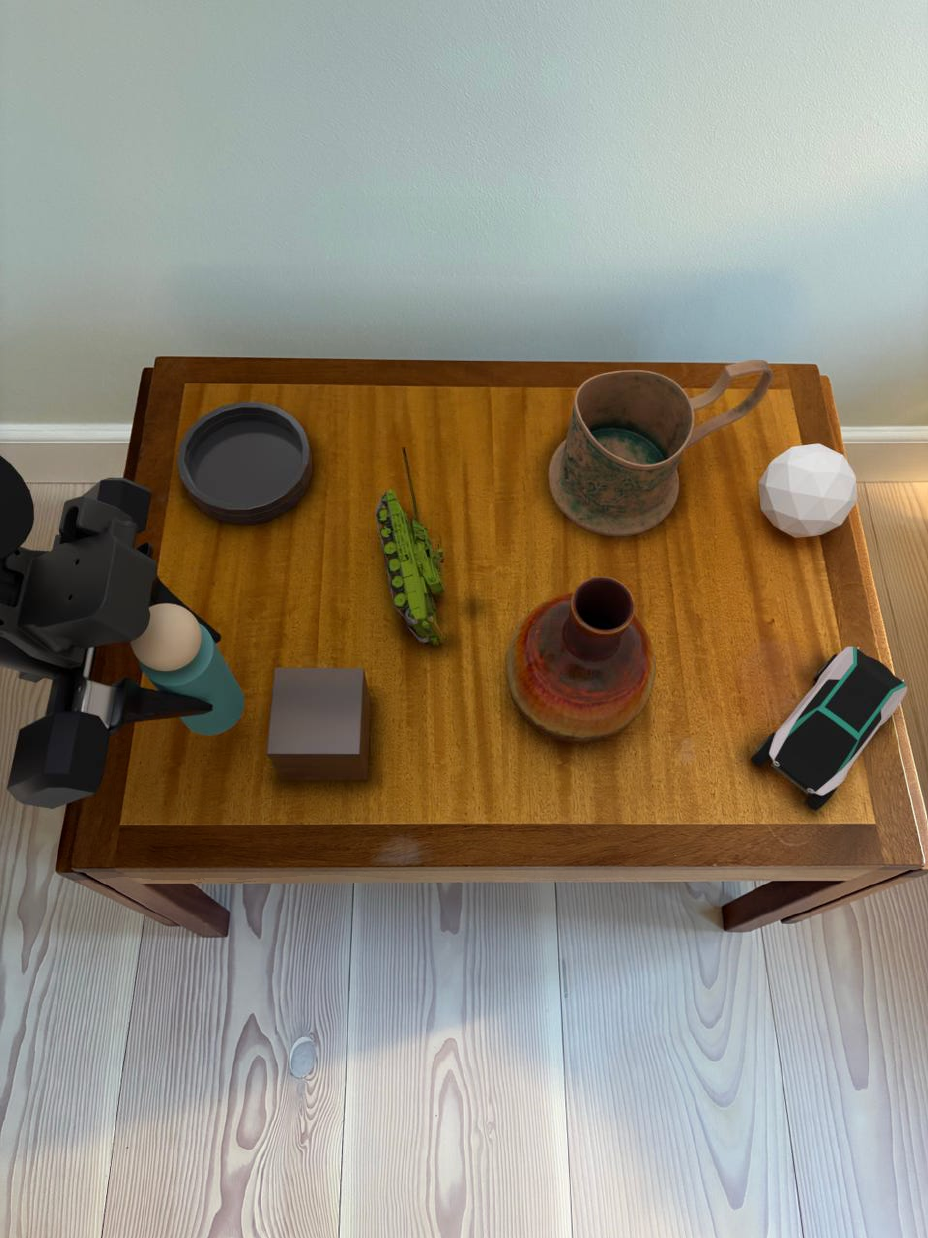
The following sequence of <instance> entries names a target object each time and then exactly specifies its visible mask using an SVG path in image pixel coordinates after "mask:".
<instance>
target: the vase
mask: <svg viewBox="0 0 928 1238" xmlns="http://www.w3.org/2000/svg"><path fill="white" fill-rule="evenodd" d="M635 602H636V601H635V599H634V596H633V593H632V591H631V590H630V589H629V587H627V586H626V585H625V584H624V583H623V582H621V581H619V580H618V579H615V578H613V577H610V576H605V575H604V576H603V575H601V576H600V575H598V576H597V575H596V576H591V577H588V578H586V579H585V580H583V581H582V582H581V583H579V584H578V585H577V586H576V588H575V589H574V590H573V592H567V593H562V594H558V595H556V596H553V597H549V598H548V599H546V600H545V601H542V602H540V603H539V604H538V605H536V606H535V607H534V608H533V609H531V610H529V612H528V613H527V614H526V615H525V616H524V617H523V618H522V619H521V621H520V622H519V624H518V625H517V627H516V628H515V629H514V631H513V634H512V636H511V638H510V641H509V644H508V648H507V651H506V657H505V679H506V684H507V688H508V693H509V694H510V697H511V699H512V702H513V704H514V705H515V708H517V710H518V712H519V714H520V715H521V716H522V717H523V719H525V720H526V721H527V723H528V724H530V725H531V726H532V727H533V728H534V729H536V730H537V731H538V732H540V733H542V734H543V735H545V736H547V737H549V738H551V739H554V740H557V741H560V742H564V743H569V744H570V743H572V744H590V743H594V742H599V741H603V740H605V739H608V738H610V737H613V736H614V735H616V734H617V733H620V732H621V731H623V730H625V728H626V727H628V726H629V725H630V724H632V722H634V721H635V720H636V718H637V717H638V716H639V715H640V713H642V711H643V709H644V708H645V706H646V704H647V703H648V701H649V699H650V697H651V695H652V691H653V688H654V684H655V680H656V667H657V666H656V655H655V649H654V646H653V643H652V640H651V637H650V636H649V633H648V631H647V629H646V628H645V626H644V624H643V623H641V621H640V618H638V617H637V616H636V615H635V612H636V603H635Z"/></svg>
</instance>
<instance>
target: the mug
mask: <svg viewBox="0 0 928 1238" xmlns="http://www.w3.org/2000/svg"><path fill="white" fill-rule="evenodd" d="M756 373H762V374H761V376H760V378H759V380H758V383H757V384H756V385H755V387H754V388H753V390H752V391H751V392H750V393H749V395H748V396H747V397H745V399H743V400H742V401H741V402H740V403H739V404H738V405H736V406H734V407H733V408H731V409H729V410H727V411H725V412H723V413H721V414H719V415H717V416H714V417H712V418H711V419H709V420H707V421H705V422H703V423H701V424H700V425H699V426H697V427H695V419H696V418H695V417H696V416H695V412H696V411H698V410H701V409H702V410H703V409H704V408H706V407H708V406H710V405H713V403H715V402H716V401H718V399H720V397H721V396H722V395H724V394H725V392H726V391H727V389H728V388H729V386H730V384H731V382H732V380H733V379H735V378H737V377H741V376H742V377H743V376H747V375H750V374H751V375H752V374H756ZM773 380H774V371H773V370H772V368H771V366H770V365H769V363H768V361H766V360H765V359H751V360H746V361H739V362H737V363H736V362H735V363H733V364H732V363H731V364H727V365H725V366H724V367H723V370H722V372H721V374H720V376H719V378H718V379H717V381H716V382H715V383H714V384H713V385H712V386H711V387H710V388H709V389H708V390H706V391H705V392H703V393H702V394H699V395H697V396H694V397H692V398H690V397H689V395H688V394H687V392H686V391H685V389H684V388H683V387H682V386H681V385H680V384H679V383H677V382H676V381H675V380H673V379H672V378H670V377H668V376H666V375H664V374H661V373H658V372H655V371H650V370H643V369H626V370H625V369H624V370H616V371H609V372H604V373H600V374H597V375H594V376H592V377H590V378H588V379H586V380H585V381H583V382H582V383H581V384H580V386H579V387H578V389H577V391H576V392H575V396H574V400H573V406H572V412H571V413H572V414H571V417H570V418H569V426H568V430H567V433H566V438H565V439H564V440H563V441H562V442H561V443H560V444H559V446H558V447H557V448H556V449H555V450H554V453H553V455H552V457H551V460H550V463H549V467H548V475H547V476H548V477H547V479H548V487H549V492H550V494H551V497H552V499H553V501H554V503H555V504H556V506H557V507H558V509H559V510H560V511H561V512H562V514H564V516H565V517H566V518H568V519H569V520H570V521H571V522H572V523H574V524H575V525H577V526H579V527H580V528H582V529H584V530H587V531H588V532H591V533H595V534H596V535H597V534H598V535H601V536H606V537H629V536H631V537H632V536H635V535H639V534H642V533H645V532H647V531H650V530H651V529H653V528H655V527H656V526H659V524H660V523H662V522H663V521H664V520H665V519H666V518H667V517H668V515H669V514H670V513H671V512H672V510H673V508H674V506H675V504H676V501H677V498H678V496H679V491H680V479H679V473H678V467H679V464H680V462H681V460H682V457H683V455H684V452H685V450H688V449H689V448H691V447H692V446H694V445H695V444H697V443H698V442H700V441H701V440H704V438H706V437H708V436H709V435H711V434H713V433H714V432H716V431H718V430H720V429H722V428H724V427H726V426H729V425H731V424H733V423H735V422H737V421H739V420H741V419H742V418H744V417H746V416H747V415H748V414H749V413H751V412H752V410H753V409H755V408H756V406H758V404H759V403H760V402H761V401H762V399H764V396H765V395H766V394H767V392H768V391H769V388H770V386H771V384H772V382H773Z"/></svg>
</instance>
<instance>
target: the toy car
mask: <svg viewBox="0 0 928 1238" xmlns="http://www.w3.org/2000/svg"><path fill="white" fill-rule="evenodd" d="M813 681H814V686H813V687H812V688H811V689H810V690H809V691H808V692H807V693H806V695H805V696H804V697H803V698H802V699H801V700H800V702H799V703H798V704H797V706H796V707H795V709H793V711H792V712H791V713H790V715H789V716H788V717H787V718H786V720H785V721H784V722H783V723H782V724H781V725H780V726H779V727H778V729H777V731H776V732H772V733H770V734H769V735H768V737H766V738H765V740H764V741H763V742H762V743H761V744H760V745H759V747H758V748H757V749H756V750H755V752H754V753H753V754H752V756H751V758H750V761H751V762H752V763H753V764H754V765H755V766H757V767H758V768H763V767H764V766H765V765H766V764H768V762H769V761H772V763H771V764H770V766H771V767H772V768H773V769H775V770H776V771H777V772H779V773H780V774H781V775H782V776H783V777H784V778H785V779H786V780H788V781H789V782H790V783H792V784H793V785H794V786H796V787H797V788H799V789H800V790H801V791H802V792H803V793H805V794H806V797H805V799H804V804H805V805H806V806H807V807H808V808H809V809H811V810H813V811H814V812H817V811H819V810H820V809H821V808H822V807H824V806H825V804H826V803H827V802H828V801H829V800H830V799H831V798H832V797H833V795H834V794H835V793H836V792H837V789H838V788H839V786H840V785H841V784H843V782H844V781H845V779H846V777H847V775H848V773H849V771H850V769H851V767H852V766H853V764H854V763H855V761H856V760H857V758H858V757H859V756H860V755H861V753H862V752H863V750H865V747H866V746H867V745H868V743H869V742H870V741H871V739H872V738H873V737H874V735H875V733H876V732H877V731H878V730H879V728H880V727H881V726H882V725H883V724H885V723H886V722H887V721H888V720H889V719H890V717H891V716H892V715H893V714H894V713H895V712H896V710H897V709H898V707H899V706H900V704H901V703H902V701H903V700H904V698H905V695H906V694H907V691H908V687H907V685H906V683H905V679H902V680H901V679H900V678H899V677H897V676H896V675H895V674H894V673H893V672H892V671H891V670H890V668H889V667H888V666H887V665H885V664H884V663H883V662H881V660H878V659H876V658H874V657H872V656H869V655H867V654H866V653H865V652H863V651H861V650H860V646H858V647H856V646H845V648H844V649H843V650H842V651H840V652H839V653H834V654H833V655H832V656H831V657H830V658H829V659H828V660H827V661H826V662H825V663H824V665H823V666H822V667H821V668H820V669H819V671H817V673H816V675H815V676H814V678H813Z"/></svg>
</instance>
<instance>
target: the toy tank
mask: <svg viewBox="0 0 928 1238" xmlns="http://www.w3.org/2000/svg"><path fill="white" fill-rule="evenodd" d="M401 448H402V453H403V458H404V464H405V469H406V474H407V479H408V484H409V491H410V496H411V500H412V505H413V507H412V509H413V512H414V513H413V514H414V517H413V516H411V517H410V522H409V519H408V516H409V515H408V513H406V512H405V511H404V510H403V508H402V506H401V503H400V502H399V499H398V496H397V495H396V493H395V491H394V490H393V489H388V491H386V492H384V493H383V494H382V495H381V496H380V499H379V501H378V504H377V506H376V510H375V518H376V522H377V529H378V533H379V537H380V538H379V539H380V543H381V547H382V553H383V558H384V562H385V567H386V573H387V577H388V584H389V587H390V592H391V598H392V605H393V607H394V609H395V610H396V611H397V612H398V613H399V614H400V616H402V617H403V618H404V623H405V625H406V627H407V629H408V630H409V631H410V632H411V633H412V634H413V635H414V637H415V638H416V640H418V641H419V643H429V644H430V645H432V644H433V645H434V646H436V645H437V646H439V644H440V643H441V644H443V643H445V641H446V637H445V636H444V633H442V631H441V629H440V627H439V625H438V622H437V618H436V613H435V611H436V610H437V608H436V604H435V600H434V597H433V595H434V596H436V595H442V594H444V593H445V587H444V583H443V580H442V576H443V575H444V574H447V573H449V572H453V571H454V569H452V570H449V571H445V572H443V571H441V566H440V563H442V564H444V563H445V557H444V556H445V552H443V549H442V545H440V544H442V538H441V535H439V543H437V548H438V549H437V551H436V553H435V551H434V546H433V542H434V541H433V540H431V538H430V535H429V534H428V527H426V525H423V524H422V523H421V521H420V516H419V511H418V506H417V502H416V497H415V492H414V487H413V481H412V476H411V472H410V466H409V461H408V456H407V451H406V446H404V445H402V447H401ZM380 525H381V526H380ZM387 558H388V559H387ZM439 559H440V563H439V561H438V560H439ZM456 570H457V571H458V574H460V573H459V569H456ZM442 572H443V573H442ZM390 576H392V577H390ZM413 629H414V630H415V631H416V632H414V631H413Z"/></svg>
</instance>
